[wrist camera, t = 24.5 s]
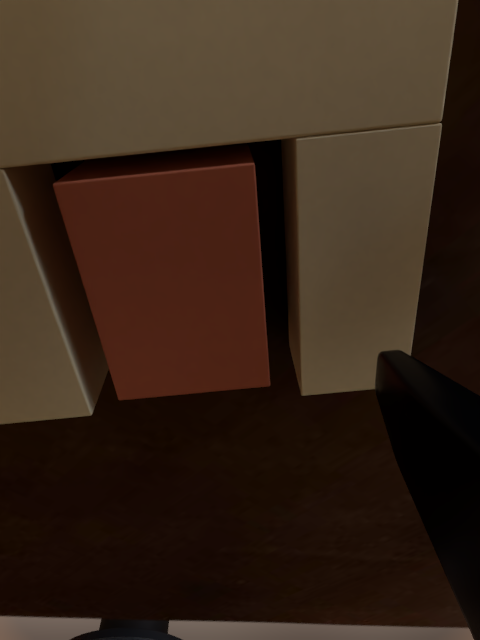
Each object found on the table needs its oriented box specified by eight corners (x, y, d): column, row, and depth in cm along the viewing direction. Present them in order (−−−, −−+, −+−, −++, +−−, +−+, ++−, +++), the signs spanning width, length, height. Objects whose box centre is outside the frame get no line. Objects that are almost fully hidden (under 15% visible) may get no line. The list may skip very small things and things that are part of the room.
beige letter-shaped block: (378, 336, 17) (407, 386, 14) (23, 371, 17) (-12, 425, 14) (436, -329, 9) (528, -496, 6) (-247, -248, 9) (-439, -375, 6)
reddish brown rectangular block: (84, 160, 13) (50, 184, 11) (248, 143, 13) (254, 162, 10) (134, 348, 17) (118, 401, 14) (263, 336, 17) (270, 386, 14)
